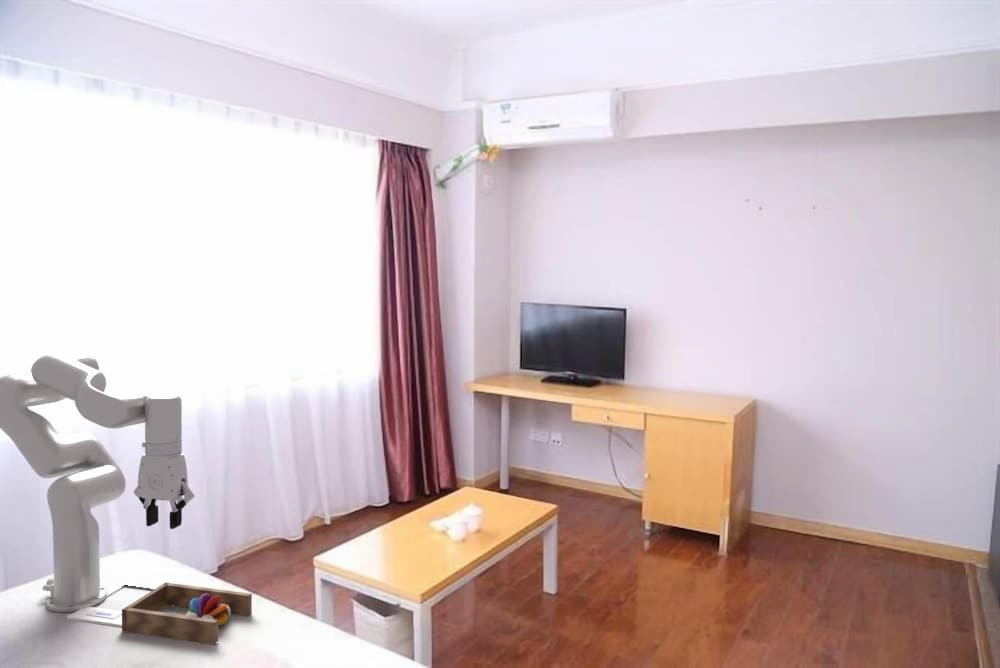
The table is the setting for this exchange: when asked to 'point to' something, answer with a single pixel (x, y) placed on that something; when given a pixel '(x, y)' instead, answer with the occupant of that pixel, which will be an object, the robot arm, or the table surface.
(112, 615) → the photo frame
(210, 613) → the rainbow roller toy
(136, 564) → the table surface
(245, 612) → the u-shaped wooden frame
